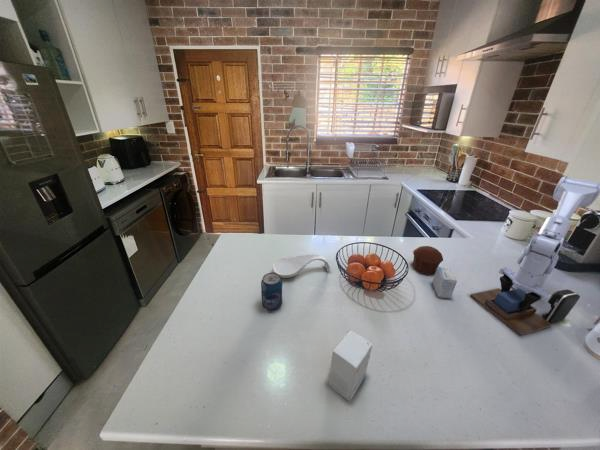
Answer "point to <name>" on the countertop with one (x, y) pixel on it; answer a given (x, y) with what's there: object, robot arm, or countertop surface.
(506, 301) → the blue block
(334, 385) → the small box
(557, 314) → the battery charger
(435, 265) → the muffin
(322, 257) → the spoon rest
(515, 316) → the mounting pad
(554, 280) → the countertop surface
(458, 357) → the countertop surface
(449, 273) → the medicine box
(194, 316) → the countertop surface
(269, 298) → the soda can
